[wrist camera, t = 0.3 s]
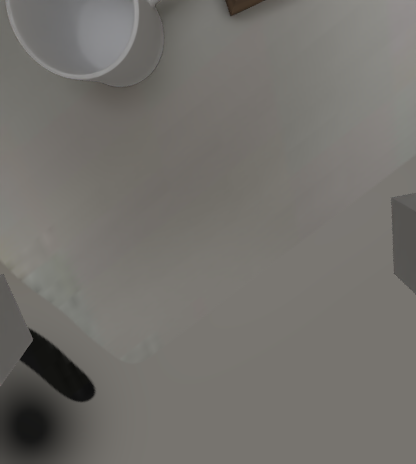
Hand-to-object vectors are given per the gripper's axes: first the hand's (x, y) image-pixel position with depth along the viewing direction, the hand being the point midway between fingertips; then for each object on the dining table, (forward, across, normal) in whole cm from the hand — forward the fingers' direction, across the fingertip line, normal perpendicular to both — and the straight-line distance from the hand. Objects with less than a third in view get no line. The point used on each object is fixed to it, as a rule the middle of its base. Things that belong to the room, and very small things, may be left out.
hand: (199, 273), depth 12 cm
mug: (+27, -4, +12) cm, 30 cm away
